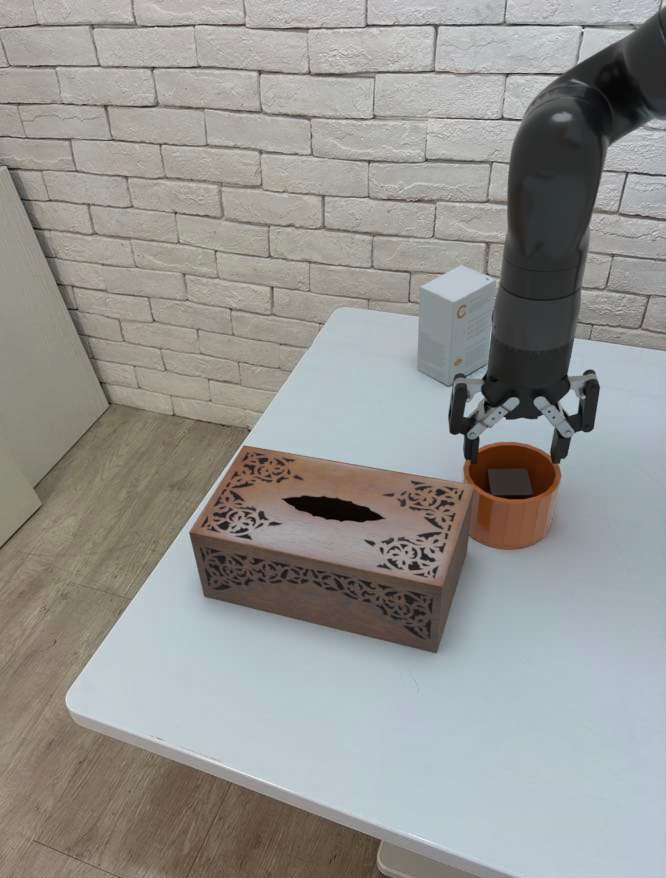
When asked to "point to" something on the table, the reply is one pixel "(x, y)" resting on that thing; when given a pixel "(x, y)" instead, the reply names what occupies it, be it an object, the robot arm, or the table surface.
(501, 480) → the walnut block
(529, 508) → the round open container
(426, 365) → the small box
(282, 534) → the tissue box cover
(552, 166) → the robot arm
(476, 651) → the table surface
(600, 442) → the table surface
